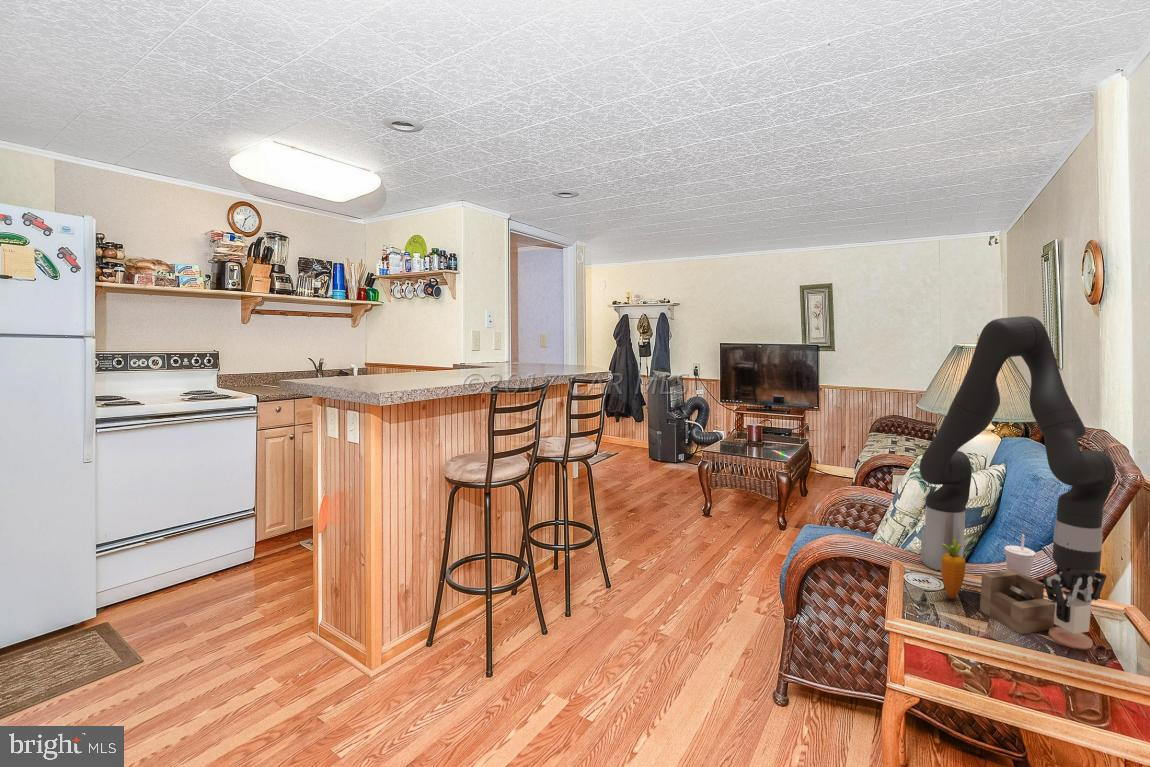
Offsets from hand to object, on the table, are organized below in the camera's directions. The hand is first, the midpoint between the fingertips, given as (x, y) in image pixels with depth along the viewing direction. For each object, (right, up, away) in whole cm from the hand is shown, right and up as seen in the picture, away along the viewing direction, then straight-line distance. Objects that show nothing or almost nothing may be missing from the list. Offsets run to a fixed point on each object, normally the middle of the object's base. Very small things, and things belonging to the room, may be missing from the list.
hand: (1071, 618), depth 116 cm
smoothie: (+8, -2, +24) cm, 26 cm away
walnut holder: (-4, -4, +9) cm, 11 cm away
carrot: (-13, -3, +19) cm, 23 cm away
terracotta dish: (0, -5, +1) cm, 5 cm away
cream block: (0, -2, 0) cm, 2 cm away
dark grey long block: (0, 0, +9) cm, 9 cm away
